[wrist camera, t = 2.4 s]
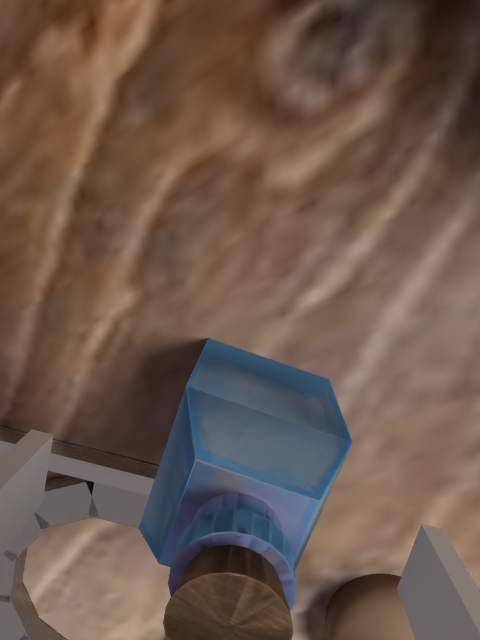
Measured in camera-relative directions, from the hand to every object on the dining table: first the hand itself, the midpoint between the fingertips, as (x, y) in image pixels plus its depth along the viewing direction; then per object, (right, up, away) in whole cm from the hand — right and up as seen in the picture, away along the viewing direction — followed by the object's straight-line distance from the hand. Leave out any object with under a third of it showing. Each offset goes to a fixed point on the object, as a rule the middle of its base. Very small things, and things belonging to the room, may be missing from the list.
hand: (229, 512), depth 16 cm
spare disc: (+8, -10, +9) cm, 16 cm away
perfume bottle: (+1, +2, +7) cm, 8 cm away
